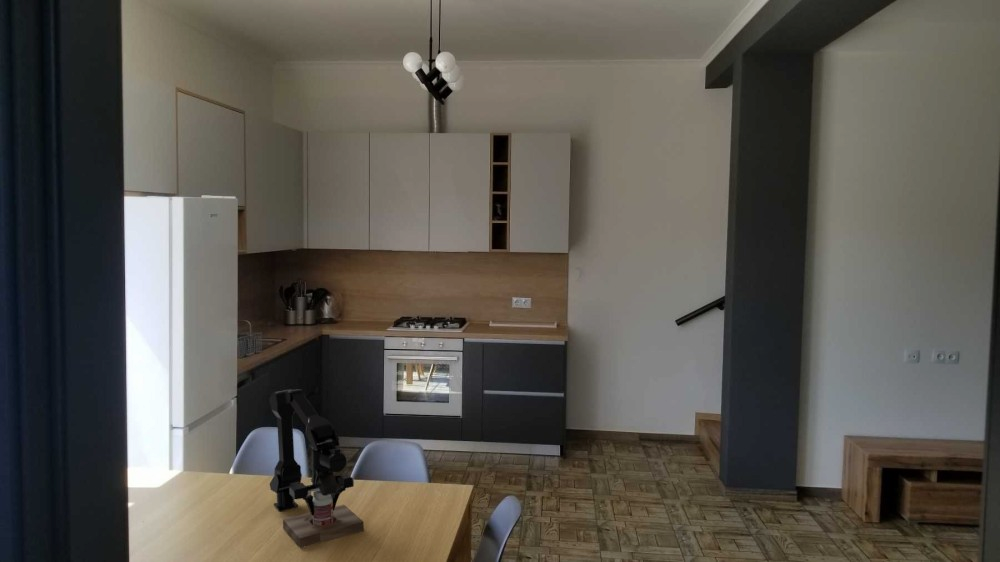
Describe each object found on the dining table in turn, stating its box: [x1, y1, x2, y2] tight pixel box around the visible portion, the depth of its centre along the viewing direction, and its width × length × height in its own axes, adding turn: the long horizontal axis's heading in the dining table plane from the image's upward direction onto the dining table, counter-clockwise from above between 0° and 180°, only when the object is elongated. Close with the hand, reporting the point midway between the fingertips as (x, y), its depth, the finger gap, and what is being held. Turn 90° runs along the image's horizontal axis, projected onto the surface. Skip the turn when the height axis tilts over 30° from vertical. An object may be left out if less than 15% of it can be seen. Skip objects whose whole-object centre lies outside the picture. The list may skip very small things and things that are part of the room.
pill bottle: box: [312, 489, 333, 526], centre depth 213 cm, size 6×6×11 cm
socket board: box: [282, 504, 365, 549], centre depth 214 cm, size 16×20×3 cm
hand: (322, 512), depth 213 cm, fingers closed on pill bottle, 6 cm apart
